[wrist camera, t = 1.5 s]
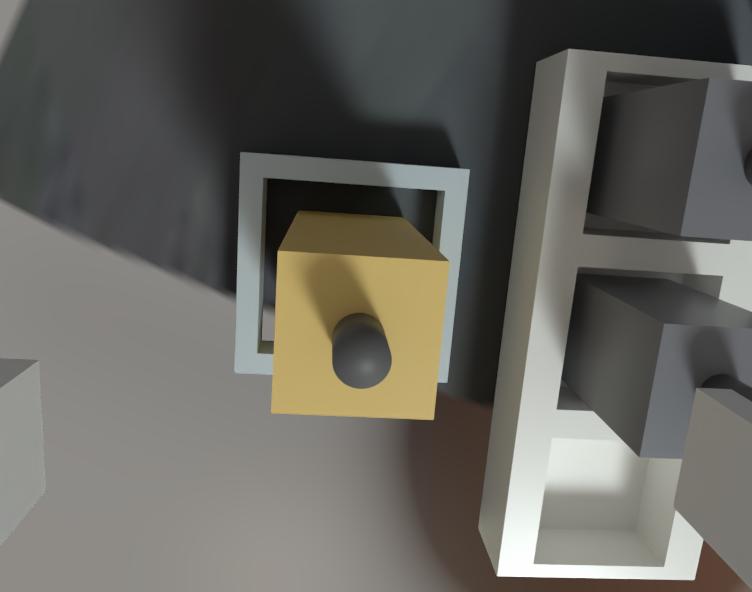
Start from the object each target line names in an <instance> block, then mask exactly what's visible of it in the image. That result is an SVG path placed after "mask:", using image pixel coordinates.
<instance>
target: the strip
mask: <svg viewBox="0 0 752 592" xmlns="http://www.w3.org/2000/svg"><path fill="white" fill-rule="evenodd" d="M696 388H713V389H732V390H733V391H735V392H737V393H738V394H740V395H742V396H743V397H745V398H747V399H748V400H750V401H752V66H748V65H738V64H727V63H716V62H706V61H695V60H684V59H674V58H663V57H652V56H642V55H631V54H620V53H610V52H599V51H588V50H578V49H567V50H564V51H562V52H559V53H557V54H555V55H552V56H550V57H547V58H545V59H543V60H540V61H538V62H536V70H535V78H534V86H533V94H532V102H531V110H530V118H529V126H528V134H527V142H526V150H525V158H524V166H523V174H522V182H521V190H520V198H519V206H518V214H517V222H516V230H515V238H514V246H513V254H512V262H511V270H510V278H509V286H508V294H507V302H506V310H505V318H504V326H503V334H502V342H501V350H500V358H499V366H498V374H497V381H496V389H495V397H494V405H493V414H492V421H491V430H490V438H489V446H488V453H487V462H486V470H485V477H484V486H483V493H482V501H481V509H480V518H479V525H478V528H479V531H480V533H481V536H482V538H483V541H484V544H485V546H486V549H487V551H488V554H489V556H490V559H491V562H492V564H493V567H494V569H495V572H496V575H497V576H514V577H568V578H616V579H617V578H618V579H666V580H695V575H696V570H697V566H698V561H699V556H700V552H701V547H702V542H703V538H702V537H701V536H700V535H699V534H698V533H697V532H696V531H695V529H694V528H693V527H692V526H691V525H690V524H689V523H688V522H687V521H686V520H685V519H684V518H683V517H682V516H681V515H680V514H679V513H678V512H677V511H676V510H675V508H674V507H673V504H674V499H675V494H676V489H677V484H678V479H679V474H680V468H681V463H682V458H683V453H684V448H685V443H686V438H687V433H688V428H689V423H690V418H691V413H692V407H693V402H694V397H695V392H696Z"/></svg>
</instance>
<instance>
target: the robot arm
mask: <svg viewBox="0 0 752 592" xmlns="http://www.w3.org/2000/svg"><path fill="white" fill-rule="evenodd" d="M45 491H46V484H45V465H44V447H43V428H42V410H41V391H40V372H39V360H24V359H23V360H22V359H0V546H1V544H2V543H3V542H4V541H5V540H6V538H7V537H8V536H9V535H10V534H11V532H12V531H13V530H14V529H15V528H16V526H17V525H18V524H19V523H20V521H21V520H22V519H23V518H24V517H25V516H26V514H27V513H28V512H29V511H30V510H31V508H32V507H33V506H34V505H35V503H36V502H37V501H38V500H39V499H40V497H41V496H42V495H43V494H44V493H45ZM673 507H674V508H675V510H676V511H677V512H678V513H679V514H680V515H681V516H682V517H683V518H684V519H685V520H686V521H687V522H688V523H689V524H690V525H691V526H692V527H693V528H694V529H695V531H696V532H697V533H698V534H699V535H700V536H701V537H702V538H703V539H704V540H705V541H706V542H707V543H708V544H709V545H710V546H711V547H712V548H713V549H714V550H715V551H716V552H717V553H718V555H719V556H720V557H721V558H722V559H723V560H724V561H725V562H726V563H727V564H728V565H729V566H730V567H731V568H732V569H733V570H734V571H735V572H736V574H738V576H739V577H740V578H741V579H742V580H743V581H744V582H745V583H746V584H747V585H748V586H749V587H750V588H751V589H752V401H750V400H748V399H747V398H745V397H743V396H742V395H740V394H738V393H737V392H735V391H733V390H732V389H713V388H696V392H695V397H694V402H693V407H692V413H691V418H690V423H689V428H688V433H687V438H686V443H685V448H684V453H683V458H682V463H681V468H680V474H679V479H678V484H677V489H676V494H675V499H674V504H673Z"/></svg>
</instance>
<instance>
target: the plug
mask: <svg viewBox="0 0 752 592" xmlns="http://www.w3.org/2000/svg"><path fill="white" fill-rule="evenodd" d="M449 265H450V261H449V260H448V259H447V258H446V257H445V256H444V255H443V254H442V253H440V252H439V251H438V250H437V249H436V248H435V247H434V246H433V245H432V244H431V243H430V242H429V241H428V240H427V239H426V238H425V237H424V236H423V235H422V234H421V233H420V232H418V231H417V230H416V229H415V228H414V227H413V226H412V225H411V224H410V223H409V222H408V221H407V220H406V219H405V218H404V217H391V216H377V215H362V214H348V213H333V212H318V211H304V210H298V212H297V214H296V216H295V218H294V220H293V222H292V224H291V226H290V228H289V230H288V232H287V234H286V236H285V238H284V239H283V241H282V243H281V245H280V247H279V249H278V257H277V282H276V306H275V332H274V356H273V382H272V405H271V406H272V407H271V413H280V414H303V415H328V416H353V417H377V418H401V419H403V418H404V419H425V420H433V419H434V410H435V401H436V391H437V381H438V372H439V362H440V352H441V343H442V333H443V323H444V313H445V304H446V294H447V284H448V275H449Z"/></svg>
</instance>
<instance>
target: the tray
mask: <svg viewBox="0 0 752 592" xmlns="http://www.w3.org/2000/svg"><path fill="white" fill-rule="evenodd" d="M469 173H470V169H463V168H453V167H440V166H427V165H414V164H400V163H387V162H374V161H361V160H348V159H334V158H321V157H308V156H295V155H282V154H268V153H255V152H240V180H239V219H238V257H237V295H236V334H235V373H247V374H269V375H273V356H274V341H262V316H263V288H264V260H265V232H266V204H267V178H276V179H290V180H304V181H317V182H331V183H345V184H359V185H373V186H386V187H400V188H414V189H428V190H438V191H437V201H436V212H435V222H434V232H433V243H432V245H433V246H434V247H435V248H436V249H437V250H438V251H439V252H440V253H442V254H443V255H444V256H445V257H446V258H447V259H448V260H449V261H450V265H449V275H448V284H447V294H446V304H445V313H444V323H443V333H442V343H441V352H440V362H439V372H438V381H437V382H443V383H447V379H448V369H449V360H450V351H451V341H452V332H453V323H454V313H455V304H456V294H457V285H458V276H459V266H460V257H461V248H462V238H463V229H464V219H465V210H466V201H467V191H468V182H469Z"/></svg>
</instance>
